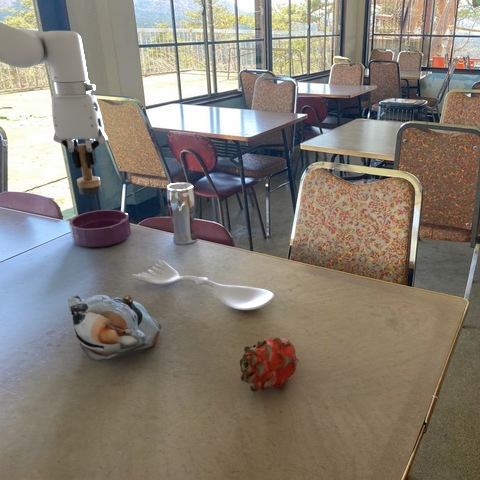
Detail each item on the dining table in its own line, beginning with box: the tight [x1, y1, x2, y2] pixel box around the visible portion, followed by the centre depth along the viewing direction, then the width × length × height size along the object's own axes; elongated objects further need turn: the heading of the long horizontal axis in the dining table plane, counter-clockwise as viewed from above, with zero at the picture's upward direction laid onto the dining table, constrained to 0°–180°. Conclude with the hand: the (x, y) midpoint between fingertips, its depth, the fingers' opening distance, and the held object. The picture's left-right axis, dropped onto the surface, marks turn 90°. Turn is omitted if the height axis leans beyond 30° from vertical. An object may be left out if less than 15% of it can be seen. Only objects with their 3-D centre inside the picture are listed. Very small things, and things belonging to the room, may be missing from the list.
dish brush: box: [76, 143, 102, 196], centre depth 118 cm, size 5×5×12 cm
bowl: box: [69, 209, 132, 248], centre depth 127 cm, size 14×14×6 cm
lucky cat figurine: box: [67, 294, 162, 361], centre depth 82 cm, size 15×12×14 cm
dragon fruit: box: [239, 336, 299, 393], centre depth 77 cm, size 8×8×12 cm
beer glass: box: [166, 182, 198, 246], centre depth 125 cm, size 7×7×15 cm
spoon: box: [131, 258, 275, 311], centre depth 102 cm, size 9×32×4 cm, turn 66°
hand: (85, 166), depth 118 cm, fingers closed on dish brush
